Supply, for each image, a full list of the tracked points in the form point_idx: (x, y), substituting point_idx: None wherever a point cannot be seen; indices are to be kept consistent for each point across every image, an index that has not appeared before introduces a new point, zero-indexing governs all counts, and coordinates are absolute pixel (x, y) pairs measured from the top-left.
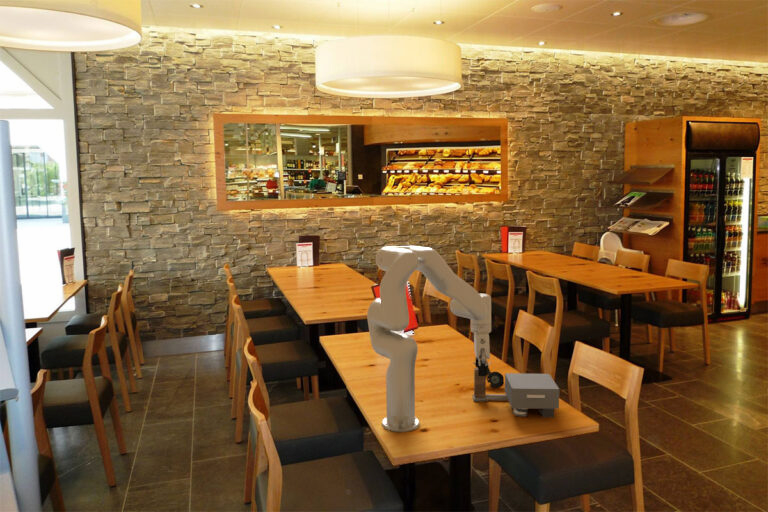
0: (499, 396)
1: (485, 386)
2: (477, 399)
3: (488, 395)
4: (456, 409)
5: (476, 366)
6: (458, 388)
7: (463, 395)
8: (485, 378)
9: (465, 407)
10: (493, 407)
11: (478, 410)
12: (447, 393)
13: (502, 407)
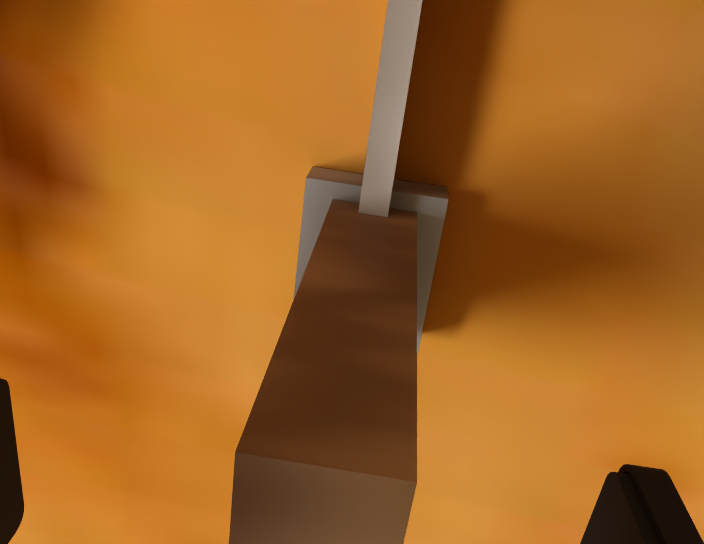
0: (420, 6)
1: (415, 279)
2: (425, 305)
3: (393, 172)
4: None
5: (12, 527)
6: (15, 383)
7: (224, 384)
8: (415, 354)
9: (567, 444)
10: (650, 157)
11: (688, 347)
12: (167, 504)
13: (686, 35)
